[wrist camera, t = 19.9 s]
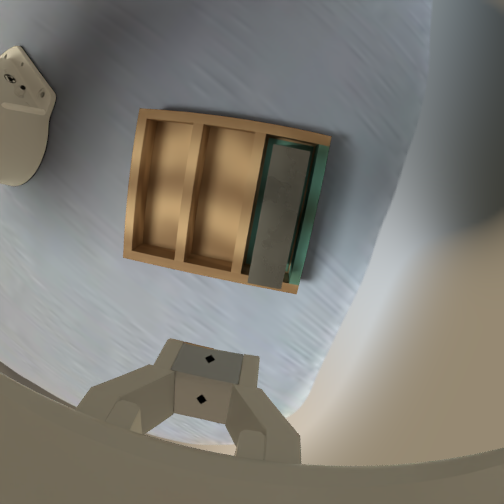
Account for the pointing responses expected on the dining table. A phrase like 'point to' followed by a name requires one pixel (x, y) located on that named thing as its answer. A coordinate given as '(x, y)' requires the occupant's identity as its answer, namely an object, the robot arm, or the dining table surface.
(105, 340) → the dining table surface
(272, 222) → the panel
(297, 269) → the rack
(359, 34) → the dining table surface
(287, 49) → the dining table surface
